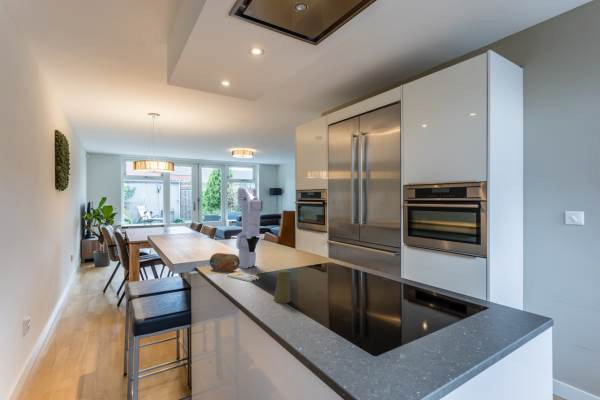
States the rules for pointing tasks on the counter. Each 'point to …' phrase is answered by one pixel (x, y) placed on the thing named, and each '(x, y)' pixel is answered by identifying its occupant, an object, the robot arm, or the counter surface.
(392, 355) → the counter surface
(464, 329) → the counter surface
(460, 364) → the counter surface
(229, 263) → the tin
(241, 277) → the label board
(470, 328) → the counter surface
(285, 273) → the olive green tapered cylinder
